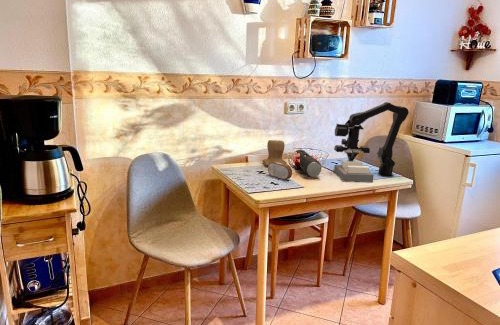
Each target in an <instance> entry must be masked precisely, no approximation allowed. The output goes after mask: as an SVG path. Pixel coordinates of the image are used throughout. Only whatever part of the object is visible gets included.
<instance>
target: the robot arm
mask: <svg viewBox="0 0 500 325" xmlns="http://www.w3.org/2000/svg"><path fill="white" fill-rule="evenodd" d="M387 111H389V112H391V113H393V114H392V123H391V126H390V128H389V130H388V134H387V137H386V139H385V143H384V144H383V146H382V147H379V148H378V150H377V151H378V152H376V154H377V158H378V160H379V162H380V164H379V168H378V172H377V173H378V174H379V175H380V176H381V177H394V175H393V170H394V167H395V164H396V162H395V161H394V159H393V147H394V145H395V142H396V140H397V136H398V135H399V134H398V133H399V132H400V128H401V125H402V124H403V122H405V121H406V119H407V118H408V116H409V113H410V112H409V109H408V108H407V107H405V106H401V105H398V106H397V105H395V104H392V103H391V102H389V101H385V102H384V103H381V104H379V105H376V106H374V107H372V108H370V109H368V110H366V111H361V112H355V113H352V114H350V115H349V118H348V120H347V121H346V122H345V123H343V124H340V123H336V126H335V128H334V136H335V137H347V138H341V141H340V142H341V144H340V145H339V144H336V145H334V149H333V150H334V151H335V152H337V153H345V154H346V156H347V161H355V159H356V157H357V156H358V155H360V152H363V153H364V154H370V152H371V150H370V149H371V148H370V147H368V146H366V145H365V146H364V145H360V147H359V142H360V139H359V137H360V131H361V130H364V128H365V127H363V126H362V124H363V123H365V122H366V121H367V120H368V119H369V118H370V119H371V118H373V117H375V116H377V115H380V114H383V113H384V112H387Z"/></svg>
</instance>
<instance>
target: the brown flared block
mask: <svg viewBox="0 0 500 325" xmlns="http://www.w3.org/2000/svg"><path fill="white" fill-rule="evenodd" d="M284 150H285V142H284V140H278V139H277V140H276V139H275V140H273V139H268V141H267V153H268V154H267V155H268V157H267V158H265V159H263V160H262V163H263V165H264V166H268V164H269V163H271V162H273V161H277V162H281V163H284V164H287V161H286V160H285V159H283V153H284Z"/></svg>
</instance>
